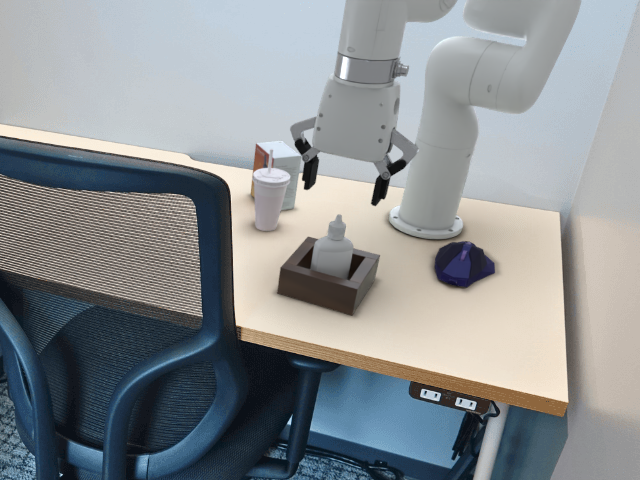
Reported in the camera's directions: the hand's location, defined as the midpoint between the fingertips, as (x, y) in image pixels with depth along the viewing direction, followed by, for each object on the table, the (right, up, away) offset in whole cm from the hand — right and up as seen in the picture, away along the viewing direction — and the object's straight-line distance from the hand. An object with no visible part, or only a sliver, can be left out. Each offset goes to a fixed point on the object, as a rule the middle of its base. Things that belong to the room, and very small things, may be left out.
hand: (342, 194), depth 97 cm
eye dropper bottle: (0, -13, +9) cm, 16 cm away
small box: (-4, +5, +34) cm, 35 cm away
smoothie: (-7, -1, +26) cm, 26 cm away
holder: (0, -12, +9) cm, 15 cm away
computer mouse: (+23, -9, +14) cm, 29 cm away
